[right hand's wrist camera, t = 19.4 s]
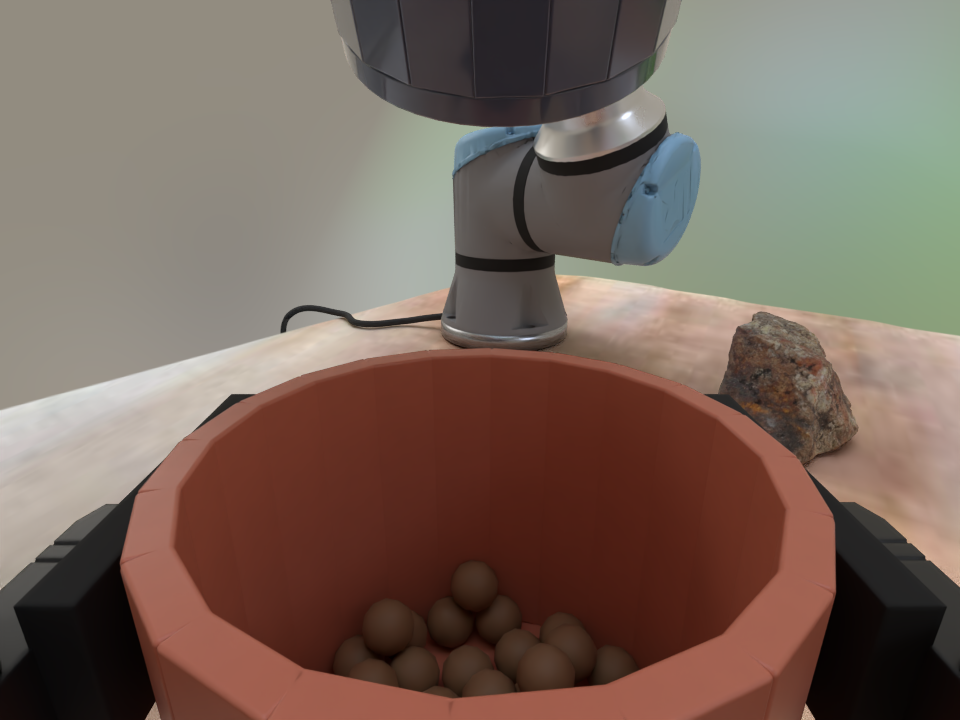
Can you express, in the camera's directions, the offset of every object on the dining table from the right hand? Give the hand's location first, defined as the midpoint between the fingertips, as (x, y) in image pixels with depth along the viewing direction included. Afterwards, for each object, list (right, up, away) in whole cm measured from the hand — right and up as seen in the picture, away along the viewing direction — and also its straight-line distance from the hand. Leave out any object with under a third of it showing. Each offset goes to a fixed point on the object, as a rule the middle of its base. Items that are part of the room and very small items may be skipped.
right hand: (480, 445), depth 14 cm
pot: (0, -7, -1) cm, 8 cm away
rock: (+24, -3, +32) cm, 40 cm away
